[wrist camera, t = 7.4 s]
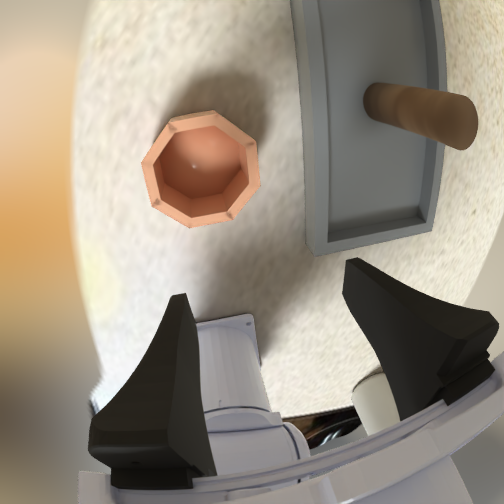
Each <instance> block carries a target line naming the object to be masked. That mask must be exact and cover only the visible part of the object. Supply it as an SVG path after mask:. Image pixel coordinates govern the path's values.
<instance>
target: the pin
mask: <svg viewBox="0 0 504 504" xmlns="http://www.w3.org/2000/svg"><path fill="white" fill-rule="evenodd" d="M363 105H364V109H365V111H366V113H367V115H368V116H369V117H370V118H371V119H373V120H375V121H378V122H382V123H385V124H388V125H391V126H395V127H398V128H401V129H404V130H407V131H410V132H413V133H416V134H419V135H422V136H424V137H427V138H430V139H432V140H435V141H438V142H440V143H443V144H445V145H448V146H450V147H453V148H455V149H457V150H465V149H467V148H468V147H470V146H471V144H472V143H473V141H474V139H475V137H476V134H477V130H478V115H477V111H476V108H475V106H474V104H473V102H472V101H471V100H470V99H469V98H468V97H466V96H463V95H458V94H454V93H449V92H444V91H438V90H433V89H427V88H421V87H414V86H406V85H398V84H389V83H373V84H371V85H370V86H369V87H368V88H367V89H366V91H365V93H364V96H363Z"/></svg>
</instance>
